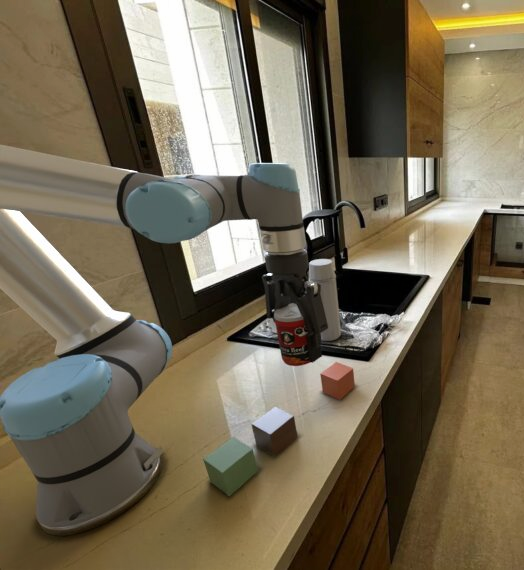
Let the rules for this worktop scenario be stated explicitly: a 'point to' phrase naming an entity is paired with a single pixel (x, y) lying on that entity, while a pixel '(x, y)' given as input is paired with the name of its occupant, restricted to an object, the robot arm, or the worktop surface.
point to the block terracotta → (337, 380)
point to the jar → (273, 321)
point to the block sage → (231, 465)
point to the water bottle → (327, 295)
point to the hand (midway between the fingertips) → (301, 353)
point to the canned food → (292, 335)
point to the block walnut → (274, 430)
